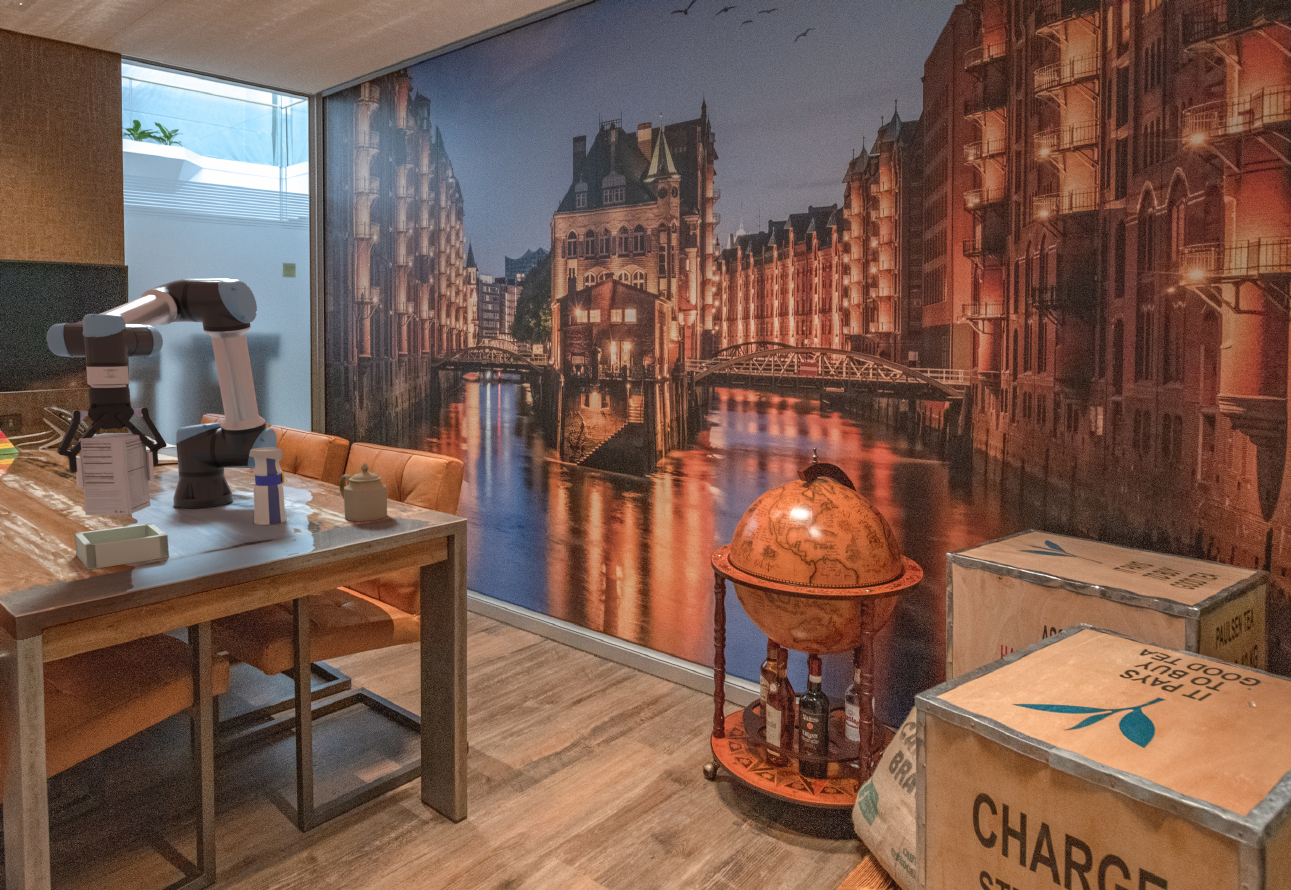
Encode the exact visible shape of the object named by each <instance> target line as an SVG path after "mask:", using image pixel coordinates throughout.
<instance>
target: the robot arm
mask: <svg viewBox="0 0 1291 890" xmlns="http://www.w3.org/2000/svg"><path fill="white" fill-rule="evenodd" d="M256 300H257V299H256V297H255V294H254V293H253V291H252V289H251V287H250V286H248V285H247V283H246V282H244V281H242V280H239V279H232V278H231V279H230V278H181V279H178V280H174V281H170V282H166V283H163V284H161V285H158V286H155V287H153V288H152V287H151V288H150V289H147V290H145V291H144V292H143V293H142V294H141V296H140V297H139V298H135V299H134V300H131V301H129V302H126V303H124V304H121V305H118V306H116V307H114V308H111V309H108V310H105V311H104V312H101V313H88V314H86V315H84V316H83V318H82V320H80V321H76V322H73V323H68V322H64V323H55V324H52V325H51V326H50V327H49V328H48V331H47V333H46V343H47V347H48V348H49V350H50V351H51V352H52V354H54V355H55V356H58V357H69V358H85V361H86V362H85V366H86V369H85V370H86V381H87V385H89V386H90V387H89V388H87V393H88V406H89V407H88V410H78V409H73V410H72V411H71V421H70V422H69V425H68V427H67V429H66V431H65V433H64V436H63V438H62V439H61V442H60V444H59V446H58V447H57V450H56V453H58V454H59V455H60V456H64V457H67V458H68V459H67V460H68V468H69V472H70V473H75V479H76V487H77V488H79V489H83V479H82V467H81V457H80V455H79V454H80V451H81V441H80V442H79V439H81V438H82V439H84V438H92V436H94V435H96V433H97V432H98V431H99V430H100V429H101V430H105V431H107V430H111V429H116V430H120V429H123V428H126V429H127V430H129V432H130V433H133V434H135V435H139V438H140V440H141V441H142V442H143V443H144V444H145V445H146V448H147V449H149V450H146V454H147V467H148V480H149V481H150V482H151V481H152V482H154V481H155V469H154V466H158V464H159V454H158V452H159V450H161V449H164V448H166V447H167V446H168V444H167V443H166V441H165V440H164V438H163V437H162V435H161V433H160V432H159V429H158V428H157V427H156V425H155V423H153V420H152V419H151V418H150V413H149V409H148V408H147V407H145V406H141V407H138V408H133V407H132V404H131V403H132V402H131V389H130V388H129V386H127V385H129V384H130V380H129V379H130V377H129V376H130V375H129V366H128V358H133V359H134V358H135V359H137V358H141V359H147V358H150V357H154V356H156V355H158V354H159V353H160V352H161V350H162V348H163V344H164V340H163V335H162V333H161V332H160V331H159V330H158V329H157V328H156V327H155V326H157V325H160V326H165V325H169V324H171V323H180V322H181V323H183V322H189V323H191V322H192V323H201V324H202V327H203V328H202V329H203V331H204V332H205V333H206V334H208V335H209V336H210V337H211V345H212V349H213V355H214V361H215V367H216V372H217V378H218V384H219V390H220V395H221V400H222V408H223V413H224V418H225V419H224V420H223V422H217V421H216V422H209V423H208V422H207V423H200V424H192V425H187V426H183V427H180V428H178V429H177V430H176V434H175V435H176V436H175V437H176V439H175V445H176V456H177V458H176V459H177V468H178V481H177V483H176V488H175V491H174V495H173V498H172V499H173V506H174V507H177V508H183V509H184V508H186V509H199V508H211V507H218V506H222V505H223V506H224V505H226V504H229V503H232V502H233V500H234V499H233V498H234V497H233V492H232V490H231V487H230V486H229V482H228V480H227V478H226V476H225V469H230V468H231V469H249V470H254V469H255V460H254V457H250V456H249V454H250V450H251V449H255V448H265V447H275V448H278V438H277V433H276V431H275V429H273V428H271V427H267V422H266V419H265V418H264V417H262V416H260V415H259V410H258V403H257V397H256V390H255V383H254V378H253V377H254V376H253V372H252V366H251V359H250V353H249V346H248V341H247V340H248V339H247V332H248V331H249V330H250V329H251V323H252V322H254V321H255V319H256V317H257V311H258V309H257V308H258V305H257V301H256ZM134 415H136V416H137V417H138V418H141V420H142V421H143V423H144V425H145V427H146V428H147V430H148V431H149V433H150V434H151V436H152V437H153V439H154V441H155V442H156V443H153V441H151V440H150V439H149V438H148V437H147V436H146V434H145V433H144V434H145V435H144V434H143V433H142V431H140V430H139V428H137V427H136V425H135V424H133V423H132V422H131V421H130V420H131V419H132V418H133V416H134ZM86 417H88V418H89V419H90V420H91V421H92V423H91V424H90V425H89V426H88V428H87V429H86V431H85V432H84V433H83V434H82V435H81V436H80V437H79V439H78V440H77V441H76V442H74V443H75V444H73V446H72V447H71V448H70V449H69V447H70V445H71V443H72V441H73V439H74V436H75V434H76V432H77V430H78V428H79V426H80V424H81V422H82V421H84V420H85V418H86ZM68 449H69V450H68Z"/></svg>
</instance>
